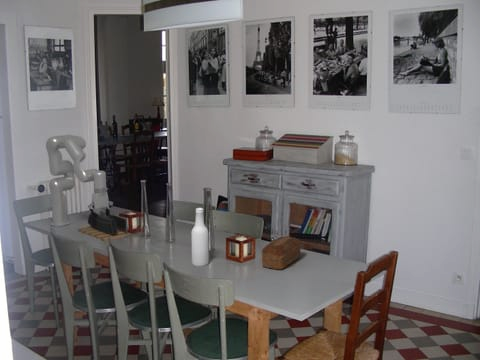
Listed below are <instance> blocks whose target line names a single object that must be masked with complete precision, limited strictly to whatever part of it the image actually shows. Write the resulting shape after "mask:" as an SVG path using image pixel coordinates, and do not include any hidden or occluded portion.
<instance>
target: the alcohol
mask: <svg viewBox="0 0 480 360" xmlns="http://www.w3.org/2000/svg"><path fill="white" fill-rule="evenodd" d="M194 223H195V224H194V226H193V228H192V229H191V233H190V235H191V264H192V265H193V266H195V267H204V266H207V265H209V258H210V257H209V231H208V228H207V226H206V225H205V219H204V208H203V207H197V208H195V221H194Z"/></svg>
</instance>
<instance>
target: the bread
mask: <svg viewBox="0 0 480 360" xmlns="http://www.w3.org/2000/svg"><path fill="white" fill-rule="evenodd" d="M301 246H302V241H301V240H300V239H299V238H297V237H293V236H288V235H287V236H281V237H278V238H275V239H273V240H272V241H270V242H269V243H268V244H266V246H264V247H263V248H262V249H261V264H262V266H263V268H264V267H265V268H268V269H272V270H283V269H285V268H286V267H287V266H289V265H290V264H292V263H294V262H295V261H296V260H297V259H299V257H300V256H301Z"/></svg>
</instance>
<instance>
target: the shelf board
mask: <svg viewBox="0 0 480 360" xmlns="http://www.w3.org/2000/svg"><path fill="white" fill-rule="evenodd" d="M76 229H77V231H78V232H80V233H82V234H85V235H87V236H90V235H91V236H90V237H94V238H95V237H96V239H98V240H100V239H101V240H100V241H104V242H108V237H110V238H111V240H110V241H114V240H118V239H122V238H126V237H131V232H128V233H124V232H121V231H119V230H117V232H118V233H117V234H108V233H103V232H100V231H98V230H96V229H95V228H92V226H91V225H87V226H81V227H77V228H76Z"/></svg>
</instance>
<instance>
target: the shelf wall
mask: <svg viewBox="0 0 480 360" xmlns="http://www.w3.org/2000/svg"><path fill="white" fill-rule="evenodd" d="M99 216H101V217H104V218H108V219H112V218H113V219H114V221H115V222H116V227H117V230H119V231H121V232H124V233H128V218H125V217H122V216H119V215H116V214H114V213H113V214H112V213H110V214H109V216H107V215H106V211H102V210H100V211H99Z"/></svg>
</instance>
